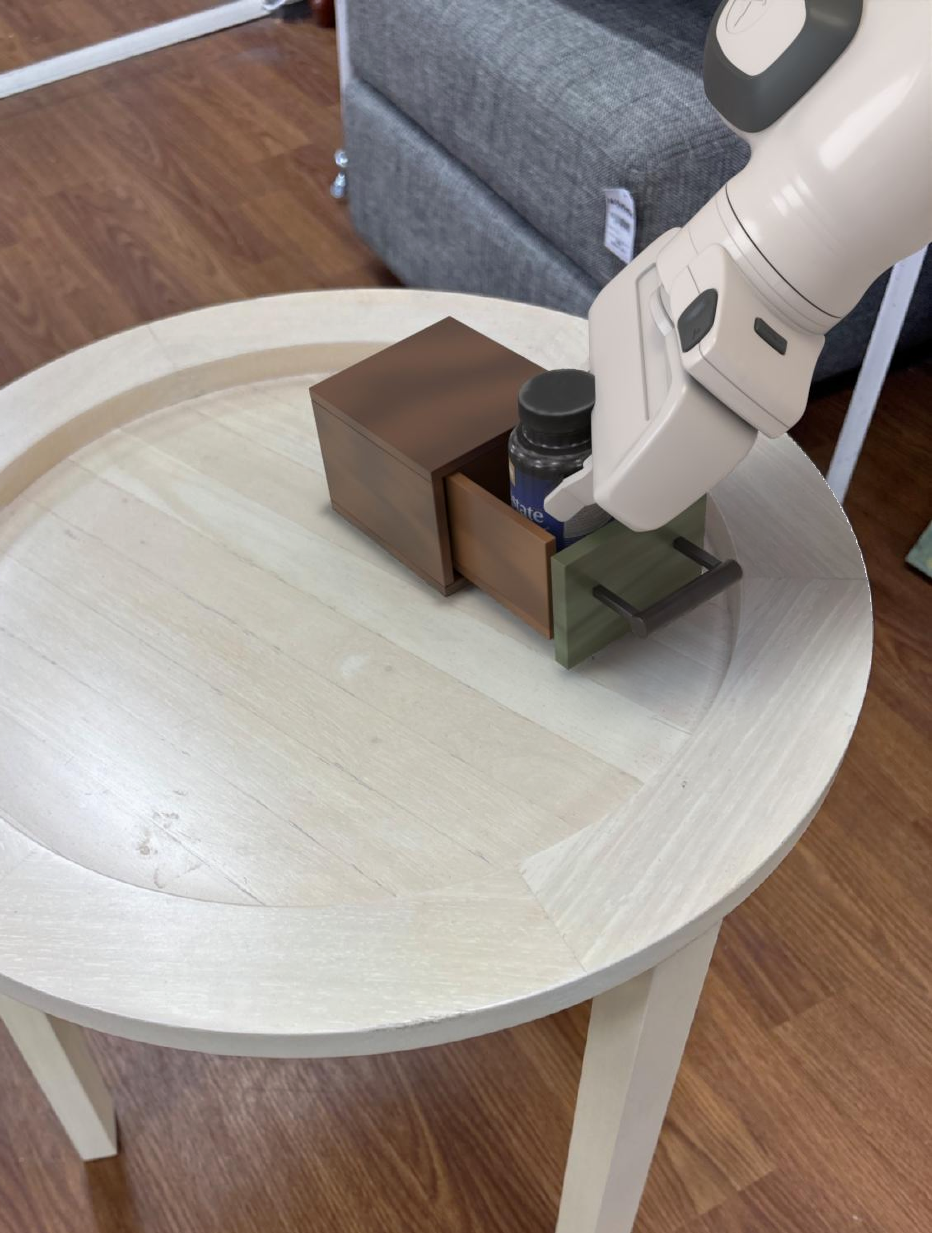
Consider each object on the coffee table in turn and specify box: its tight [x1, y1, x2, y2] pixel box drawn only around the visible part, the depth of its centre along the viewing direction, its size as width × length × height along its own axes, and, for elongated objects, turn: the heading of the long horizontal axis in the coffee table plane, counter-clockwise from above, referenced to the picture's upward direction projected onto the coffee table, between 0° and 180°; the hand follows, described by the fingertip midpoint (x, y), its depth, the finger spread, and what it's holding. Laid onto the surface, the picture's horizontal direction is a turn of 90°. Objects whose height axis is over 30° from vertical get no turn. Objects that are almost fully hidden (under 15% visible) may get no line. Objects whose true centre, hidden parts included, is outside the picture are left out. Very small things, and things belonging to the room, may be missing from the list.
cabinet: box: [308, 315, 549, 597], centre depth 86 cm, size 14×12×10 cm
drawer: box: [442, 441, 744, 671], centre depth 77 cm, size 17×10×8 cm, turn 33°
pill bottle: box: [508, 368, 615, 554], centre depth 76 cm, size 6×6×11 cm
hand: (552, 470), depth 75 cm, fingers closed on pill bottle, 6 cm apart
